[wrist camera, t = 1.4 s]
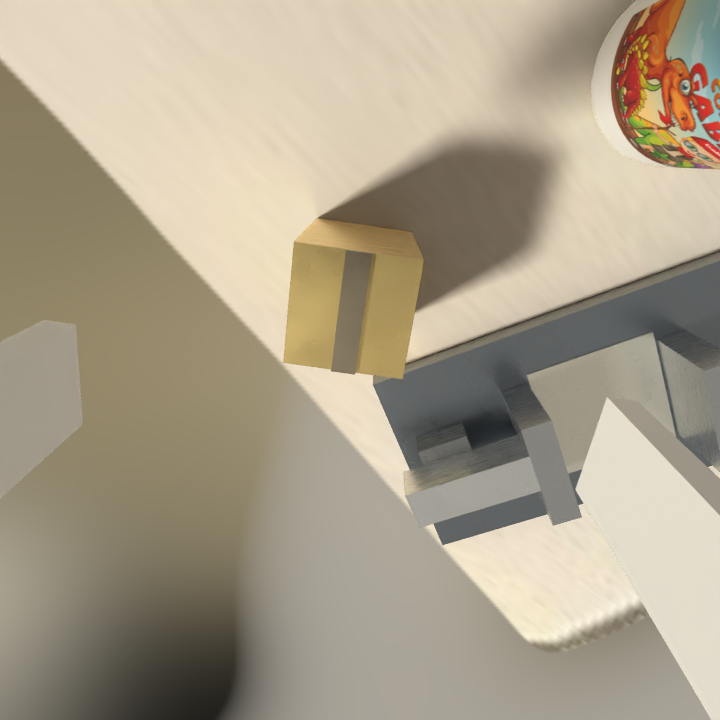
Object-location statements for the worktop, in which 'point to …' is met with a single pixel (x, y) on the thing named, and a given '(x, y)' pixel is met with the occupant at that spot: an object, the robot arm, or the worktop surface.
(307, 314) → the yellow block
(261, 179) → the worktop surface
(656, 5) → the milk bottle
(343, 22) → the worktop surface
